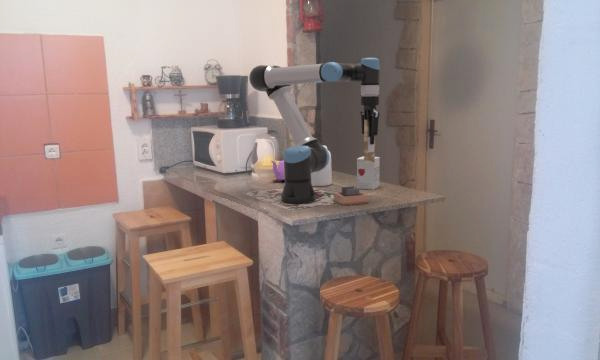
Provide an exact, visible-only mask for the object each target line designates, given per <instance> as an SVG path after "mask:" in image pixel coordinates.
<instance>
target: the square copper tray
mask: <svg viewBox="0 0 600 360" xmlns="http://www.w3.org/2000/svg"><path fill="white" fill-rule="evenodd" d="M368 198H369V197H368V194H366V193H364V192H361V191H360V189H359V188H357V187H356V188H355V186H353V185H351V186H341V191H334V192H333V201H334V202H336V203H338V204H340V205H341V206H354V205H364V204H368V202H369V201H368V200H369V199H368Z"/></svg>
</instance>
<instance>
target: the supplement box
mask: <svg viewBox="0 0 600 360" xmlns="http://www.w3.org/2000/svg"><path fill="white" fill-rule="evenodd" d="M380 159H381V157H380V156H375V162H367V163H366V162H364V155H363V156H360V157H358V158H356V188H359V190H360V189H362V190H373V191H374V190H376V189H378V188H380V171H381V170H380V166H381V165H380V164H381V163H380V161H381V160H380Z"/></svg>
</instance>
